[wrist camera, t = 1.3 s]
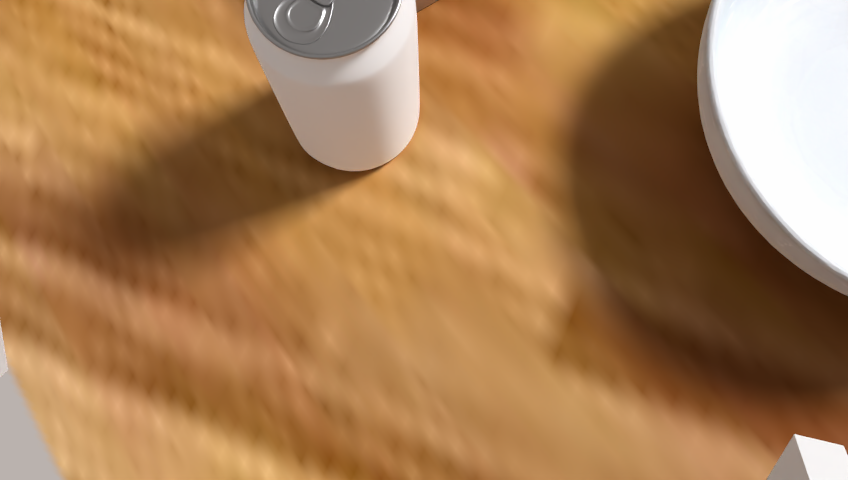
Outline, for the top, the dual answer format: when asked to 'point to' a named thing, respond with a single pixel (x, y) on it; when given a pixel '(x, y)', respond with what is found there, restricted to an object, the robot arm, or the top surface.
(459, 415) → the top surface
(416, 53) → the can
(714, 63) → the serving bowl
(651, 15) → the top surface
